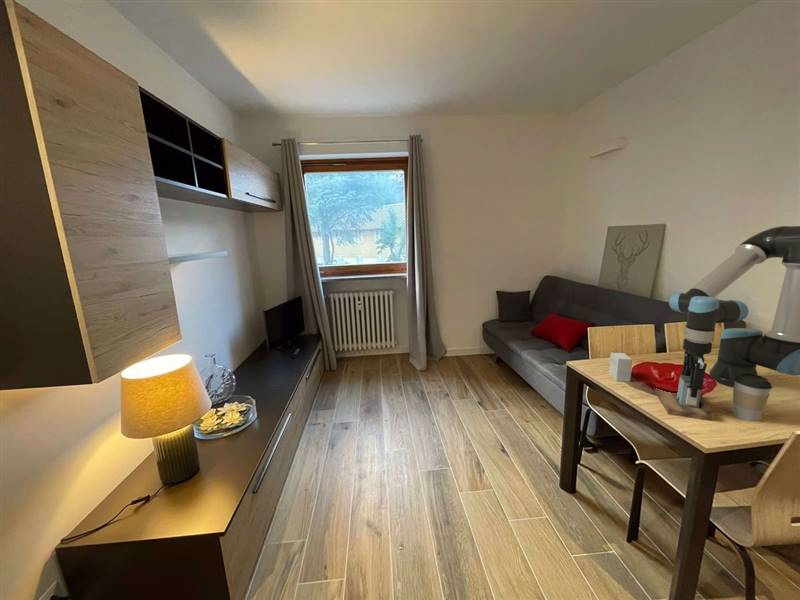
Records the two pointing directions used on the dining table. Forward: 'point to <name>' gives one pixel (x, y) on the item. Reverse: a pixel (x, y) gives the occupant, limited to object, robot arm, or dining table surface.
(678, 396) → the grey tall block
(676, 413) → the board
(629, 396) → the dining table surface
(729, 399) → the dining table surface
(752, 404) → the coffee cup
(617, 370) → the small box
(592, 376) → the dining table surface
